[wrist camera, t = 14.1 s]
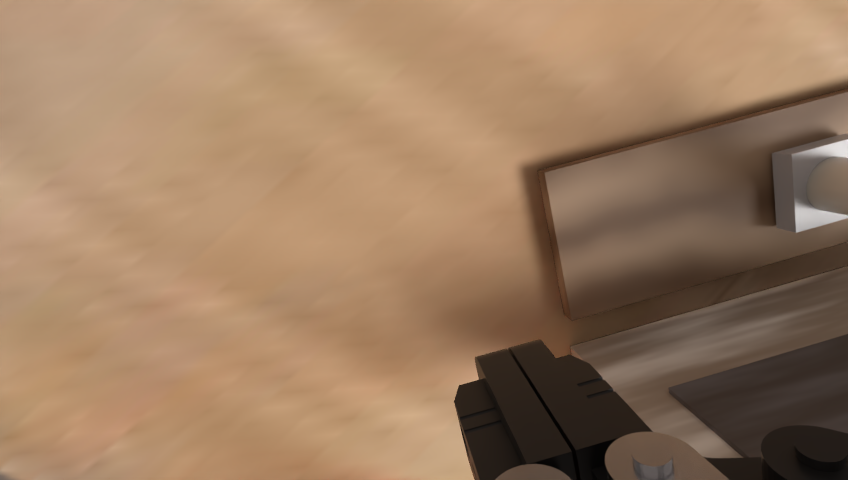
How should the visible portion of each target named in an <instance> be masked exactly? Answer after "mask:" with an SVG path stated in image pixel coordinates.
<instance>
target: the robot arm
mask: <svg viewBox="0 0 848 480" xmlns="http://www.w3.org/2000/svg"><path fill="white" fill-rule="evenodd" d="M475 363H476V368H477V372H478V377H479V380H477V381H473V382H470V383H466V384H463V385H459V387H458V391H457V394H456V397H455V400H454V403H455V407H456V411H457V415H458V419H459V423H460V427H461V431H462V436H463V440H464V444H465V448H466V452H467V456H468V460H469V463H470V466H471V470H472V473H473V476H474V479H475V480H848V433H844V432H840V431H836V430H832V429H828V428H823V427H817V426H809V425H793V426H786V427H781V428H778V429H775V430H773V431H771V432H770V433H768V434H767V435H766V436H765V437H764V439H763V440H762V443H761V457H745V458H708V457H703V456H702V455H700V454H699V453H698V452H697V451H696V450H695V449H694V448H692V447H691V446H690V445H688V444H687V443H686V442H684V441H682V440H680V439H678V438H676V437H673V436H670V435H667V434H663V433H658V432H653V431H652V430H651V429H650V428H649V427H648V426H647V425H646V424H645V423H644V422H643V420H642V419H641V418H640V417H639V416H638V415H637V414H636V413H635V412H634V411H633V410H632V409H631V408H630V406H629V405H628V404H627V403H626V402H625V401H624V400H623V399H622V398H621V397H620V396H619V395H618V393H617V392H616V391H615V392H614V391H613V388H612V387H611V386H610V385H609V384H608V383H607V382H606V381H605V380H603V378H602V376H601V375H600V374H599V373H598V372H597V371H596V370H595V369H594V368H593V367H592V365H591V364H590V363H587V362H585V361H583V360H581V359H579V358H576V357H574V356H572V355H567V356H563V357H560V358H555V357H554V355H553V354H552V353H551V352H550V350H549V349H548V348H547V347H546V345H545V344H544V343H543V342H542V341H541V340H536V341H532V342H528V343H525V344H521V345H517V346H514V347H510V348H508V350H507V349H503V350H500V351H496V352H492V353H489V354H485V355H481V356H478V357H475Z"/></svg>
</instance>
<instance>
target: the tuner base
mask: <svg viewBox="0 0 848 480" xmlns="http://www.w3.org/2000/svg"><path fill="white" fill-rule="evenodd" d="M841 134H848V88H847V89H843V90H840V91H836V92H832V93H828V94H824V95H821V96H817V97H813V98H809V99H806V100H802V101H798V102H794V103H791V104H787V105H783V106H779V107H776V108H772V109H768V110H764V111H760V112H757V113H753V114H749V115H745V116H742V117H738V118H734V119H730V120H727V121H723V122H719V123H715V124H712V125H708V126H704V127H700V128H696V129H693V130H689V131H685V132H681V133H678V134H674V135H670V136H666V137H663V138H659V139H655V140H651V141H648V142H644V143H640V144H636V145H632V146H629V147H625V148H621V149H617V150H614V151H610V152H606V153H602V154H599V155H595V156H591V157H587V158H584V159H580V160H576V161H572V162H568V163H565V164H561V165H557V166H553V167H550V168H546V169H542V170H538V177H539V182H540V187H541V193H542V198H543V203H544V209H545V214H546V219H547V225H548V230H549V236H550V241H551V246H552V252H553V257H554V262H555V268H556V273H557V278H558V284H559V289H560V295H561V300H562V305H563V311H564V314H565V315H566V316H567V317H568V318H569V319H570V320H571V321H573V320H577V319H580V318H584V317H587V316H591V315H594V314H598V313H601V312H605V311H608V310H611V309H615V308H618V307H622V306H625V305H629V304H632V303H636V302H639V301H643V300H646V299H650V298H653V297H657V296H660V295H664V294H667V293H671V292H674V291H678V290H681V289H685V288H688V287H692V286H695V285H699V284H702V283H706V282H709V281H713V280H716V279H720V278H723V277H727V276H730V275H734V274H737V273H741V272H744V271H748V270H751V269H754V268H758V267H761V266H765V265H768V264H772V263H775V262H779V261H782V260H786V259H789V258H793V257H796V256H800V255H803V254H807V253H810V252H814V251H817V250H821V249H824V248H828V247H831V246H835V245H838V244H842V243H845V242H848V218H847V219H843V220H840V221H836V222H832V223H829V224H825V225H822V226H818V227H815V228H811V229H808V230H804V231H801V232H797V233H795V232H791V231H787V230H783V229H779V228H777V225H776V210H775V195H774V179H773V164H772V153H774V152H778V151H782V150H785V149H789V148H793V147H796V146H800V145H804V144H808V143H811V142H815V141H819V140H822V139H826V138H830V137H833V136H837V135H841ZM570 348H571V353H572V356H574V357H576V358H579V359H581V360H583V361H585V362H587V363H590V364H591V365H592V367H593V368H594V369H595V370H596V371H597V372H598V373H599V374H600V375H601V376H602V378H603V380H605V381H606V382H607V383H608V384H609V385H610V386H611V387H612V388H613V391H614V392H615V391H616V392H617V393H618V395H619V396H620V397H621V398H622V399H623V400H624V401H625V402H626V403H627V404H628V405H629V406H630V408H631V409H632V410H633V411H634V412H635V413H636V414H637V415H638V416H639V417H640V418H641V419H642V420H643V422H644V423H645V424H646V425H647V426H648V427H649V428H650V429H651V430H652V431H653V432H658V433H663V434H667V435H670V436H673V437H676V438H678V439H680V440H682V441H684V442H686V443H687V444H688V445H690V446H691V447H692V448H694V449H695V450H696V451H697V452H698V453H699V454H700V455H702V456H703V457H708V458H745V457H761V443H762V440H763V439H764V437H765V436H766V435H767V434H768V433H770V432H771V431H773V430H775V429H778V428H781V427H786V426H793V425H809V426H817V427H823V428H828V429H832V430H836V431H840V432H844V433H848V266H846V267H842V268H839V269H836V270H832V271H829V272H825V273H822V274H818V275H815V276H811V277H808V278H805V279H801V280H798V281H794V282H791V283H787V284H784V285H780V286H777V287H773V288H770V289H767V290H763V291H760V292H756V293H753V294H749V295H746V296H742V297H739V298H736V299H732V300H729V301H725V302H722V303H718V304H715V305H711V306H708V307H705V308H701V309H698V310H694V311H691V312H687V313H684V314H680V315H677V316H673V317H670V318H667V319H663V320H660V321H656V322H653V323H649V324H646V325H642V326H639V327H636V328H632V329H629V330H625V331H622V332H618V333H615V334H611V335H608V336H605V337H601V338H598V339H594V340H591V341H587V342H584V343H580V344H577V345H573V346H570Z"/></svg>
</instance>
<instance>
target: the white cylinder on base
mask: <svg viewBox="0 0 848 480" xmlns="http://www.w3.org/2000/svg"><path fill="white" fill-rule="evenodd" d="M772 164H773V179H774V195H775V210H776V225H777V228H779V229H783V230H787V231H791V232H795V233H797V232H801V231H804V230H808V229H811V228H815V227H818V226H822V225H825V224H829V223H832V222H836V221H840V220H843V219H847V218H848V134H841V135H837V136H833V137H830V138H826V139H822V140H819V141H815V142H811V143H808V144H804V145H800V146H796V147H793V148H789V149H785V150H782V151H778V152H774V153H772Z"/></svg>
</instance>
